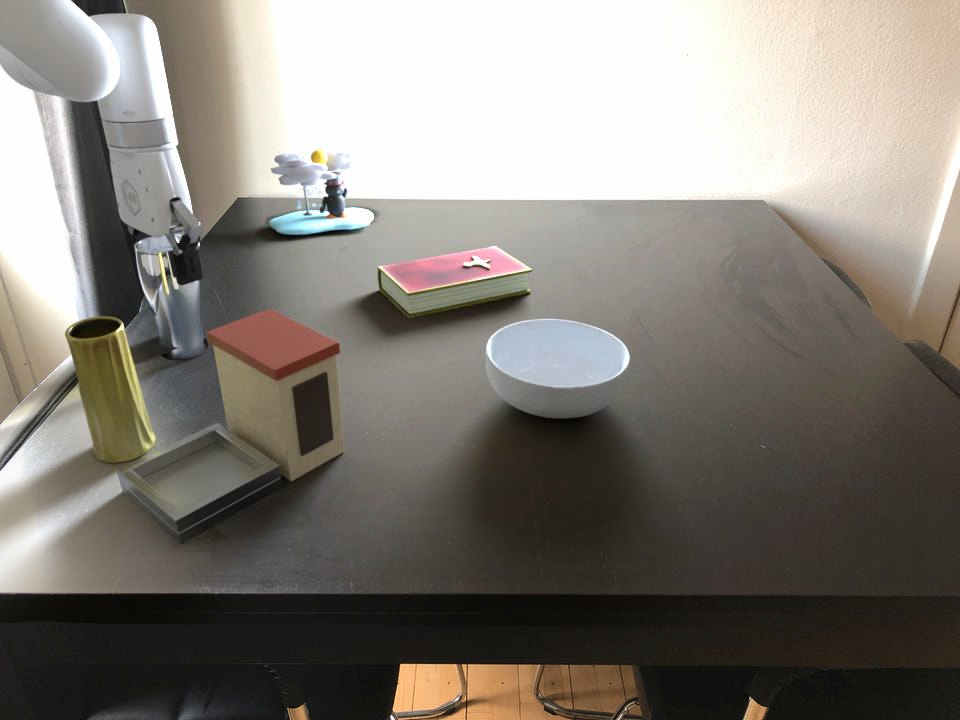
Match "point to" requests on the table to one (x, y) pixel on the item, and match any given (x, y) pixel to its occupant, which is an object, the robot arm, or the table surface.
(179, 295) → the beer glass
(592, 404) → the cereal bowl
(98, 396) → the vase
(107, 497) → the table surface
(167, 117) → the robot arm
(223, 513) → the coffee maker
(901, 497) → the table surface
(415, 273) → the hardcover book
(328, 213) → the penguin figurine
